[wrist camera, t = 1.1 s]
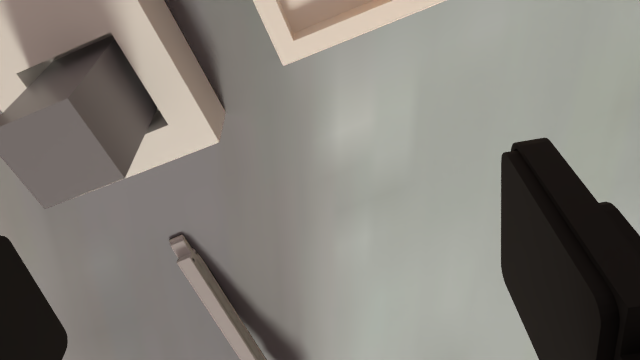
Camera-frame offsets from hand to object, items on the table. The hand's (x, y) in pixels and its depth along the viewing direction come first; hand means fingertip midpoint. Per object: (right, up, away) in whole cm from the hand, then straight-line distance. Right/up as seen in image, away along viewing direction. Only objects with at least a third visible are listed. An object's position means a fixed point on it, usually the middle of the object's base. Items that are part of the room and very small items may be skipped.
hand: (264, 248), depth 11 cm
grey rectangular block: (-10, +7, +19) cm, 23 cm away
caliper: (-4, -10, +32) cm, 33 cm away
